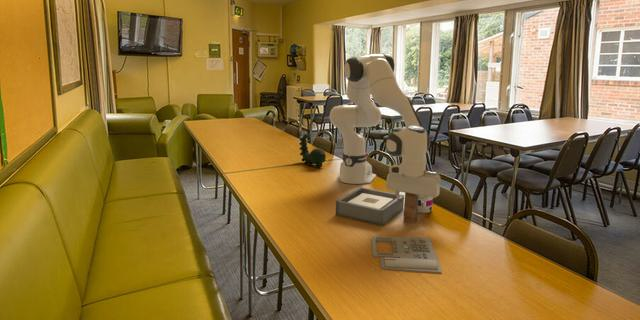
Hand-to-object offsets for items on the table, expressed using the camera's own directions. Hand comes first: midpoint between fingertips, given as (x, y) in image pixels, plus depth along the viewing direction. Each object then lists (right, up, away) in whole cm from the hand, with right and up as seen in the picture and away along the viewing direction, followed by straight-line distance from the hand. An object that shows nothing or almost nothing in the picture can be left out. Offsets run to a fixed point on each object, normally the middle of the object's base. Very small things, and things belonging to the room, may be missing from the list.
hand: (411, 204), depth 156 cm
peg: (0, -7, +2) cm, 7 cm away
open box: (-14, -4, +11) cm, 18 cm away
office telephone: (-8, -14, -25) cm, 30 cm away
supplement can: (+8, -4, +13) cm, 16 cm away
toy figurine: (-39, +14, +85) cm, 95 cm away
